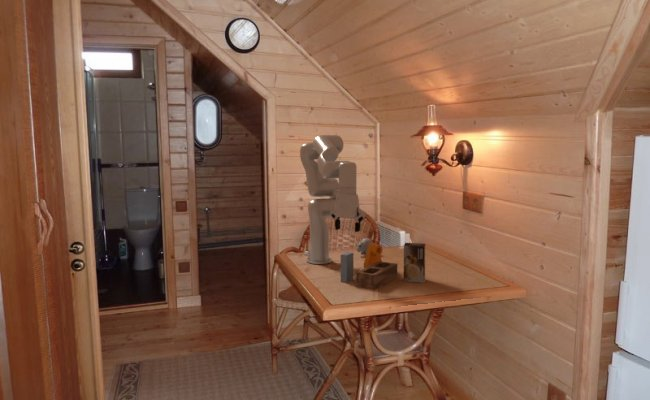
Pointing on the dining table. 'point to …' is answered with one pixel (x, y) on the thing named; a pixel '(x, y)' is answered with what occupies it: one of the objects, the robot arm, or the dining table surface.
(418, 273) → the coffee box
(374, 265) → the wooden compartment box
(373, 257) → the orange irregular piece
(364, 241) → the round bodied animal figurine
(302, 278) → the dining table surface
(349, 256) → the blue gray rectangular block
